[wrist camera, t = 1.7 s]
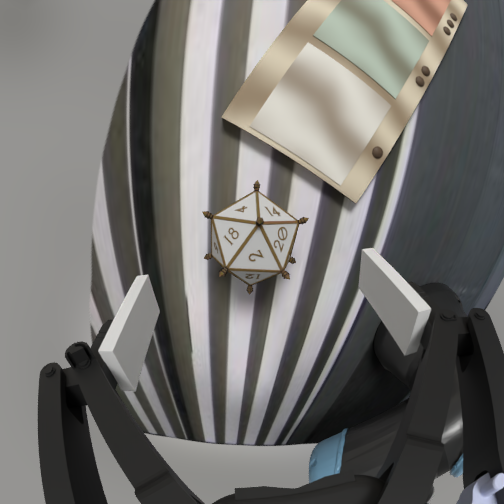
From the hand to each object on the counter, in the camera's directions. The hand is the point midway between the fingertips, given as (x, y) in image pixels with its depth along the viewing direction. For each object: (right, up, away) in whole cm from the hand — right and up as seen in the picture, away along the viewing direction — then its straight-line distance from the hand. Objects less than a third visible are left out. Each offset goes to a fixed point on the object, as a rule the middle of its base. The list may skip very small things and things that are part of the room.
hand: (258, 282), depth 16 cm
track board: (+12, +24, +3) cm, 27 cm away
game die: (0, +5, +11) cm, 12 cm away
